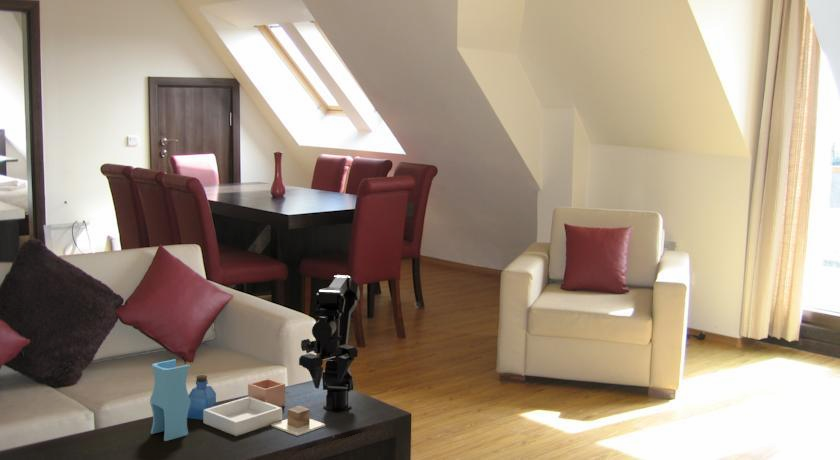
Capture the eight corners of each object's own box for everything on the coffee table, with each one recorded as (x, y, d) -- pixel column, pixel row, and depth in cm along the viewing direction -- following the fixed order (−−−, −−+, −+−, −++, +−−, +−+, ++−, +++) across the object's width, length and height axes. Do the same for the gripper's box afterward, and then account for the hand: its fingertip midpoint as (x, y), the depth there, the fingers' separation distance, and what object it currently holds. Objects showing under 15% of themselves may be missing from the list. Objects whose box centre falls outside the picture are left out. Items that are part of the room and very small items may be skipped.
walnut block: (298, 420, 257) (299, 405, 256) (309, 424, 254) (309, 409, 253) (287, 424, 253) (287, 409, 253) (297, 428, 251) (298, 413, 250)
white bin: (249, 408, 267) (249, 396, 266) (282, 421, 258) (282, 408, 257) (203, 422, 254) (203, 409, 253) (236, 436, 245) (236, 422, 244)
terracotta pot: (267, 399, 276) (268, 378, 275) (284, 405, 271) (285, 384, 270) (247, 405, 270) (248, 384, 269) (264, 412, 265) (265, 389, 264)
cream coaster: (299, 416, 262) (299, 414, 261) (325, 426, 255) (325, 424, 255) (271, 426, 253) (271, 424, 253) (297, 435, 246) (297, 433, 246)
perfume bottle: (206, 420, 257) (206, 380, 255) (187, 418, 258) (187, 378, 256) (215, 413, 263) (215, 374, 261) (196, 411, 264) (196, 372, 262)
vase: (190, 434, 245) (190, 365, 242) (165, 441, 239) (164, 370, 237) (175, 426, 250) (174, 359, 248) (150, 433, 245) (149, 364, 242)
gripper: (332, 322, 265) (331, 372, 267) (286, 333, 250) (285, 385, 252) (359, 329, 258) (358, 380, 260) (313, 340, 243) (312, 394, 245)
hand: (328, 384), depth 254 cm, fingers open, 9 cm apart
